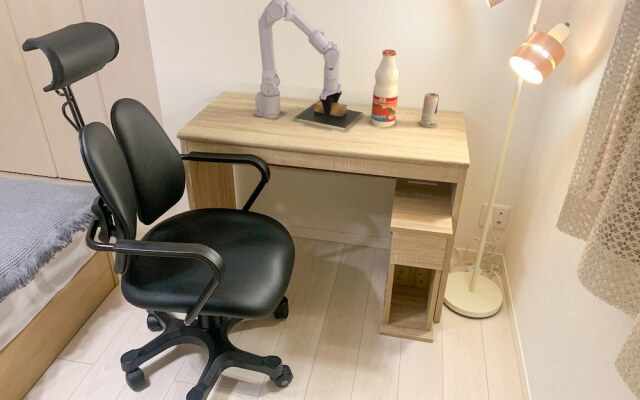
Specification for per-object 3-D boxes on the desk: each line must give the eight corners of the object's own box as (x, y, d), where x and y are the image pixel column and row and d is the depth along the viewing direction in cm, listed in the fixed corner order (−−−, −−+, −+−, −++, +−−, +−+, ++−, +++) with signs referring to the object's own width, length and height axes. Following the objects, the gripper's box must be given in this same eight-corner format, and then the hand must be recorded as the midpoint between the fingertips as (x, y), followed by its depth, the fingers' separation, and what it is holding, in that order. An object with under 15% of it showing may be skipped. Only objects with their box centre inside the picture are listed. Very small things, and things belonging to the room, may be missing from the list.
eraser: (314, 113, 192) (314, 103, 190) (319, 109, 196) (319, 99, 193) (341, 119, 188) (341, 108, 185) (346, 114, 191) (347, 104, 189)
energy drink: (436, 123, 188) (440, 94, 182) (432, 128, 184) (437, 98, 178) (422, 121, 190) (426, 91, 184) (419, 125, 186) (423, 96, 179)
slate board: (294, 120, 189) (294, 117, 188) (314, 105, 202) (314, 103, 202) (345, 131, 181) (345, 128, 180) (363, 115, 194) (363, 112, 194)
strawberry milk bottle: (398, 121, 190) (405, 49, 175) (390, 129, 182) (398, 56, 167) (375, 117, 193) (381, 46, 178) (367, 125, 186) (372, 52, 171)
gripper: (332, 85, 177) (331, 119, 184) (348, 74, 188) (346, 107, 195) (315, 82, 179) (315, 116, 187) (332, 71, 190) (331, 104, 198)
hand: (330, 111), depth 191 cm, fingers closed on eraser, 5 cm apart
